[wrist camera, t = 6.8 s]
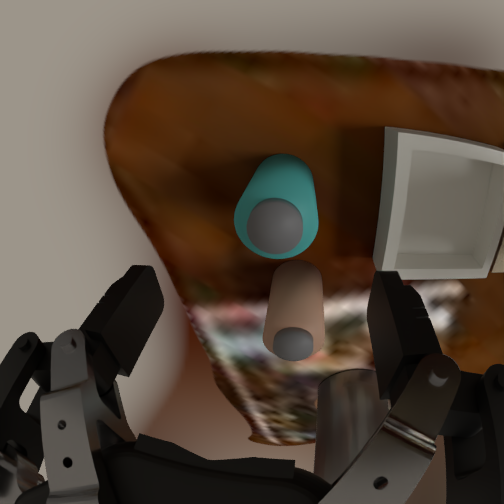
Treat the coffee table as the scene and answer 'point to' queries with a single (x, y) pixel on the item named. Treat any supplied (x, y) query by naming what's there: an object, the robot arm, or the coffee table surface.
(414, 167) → the tray
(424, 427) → the robot arm
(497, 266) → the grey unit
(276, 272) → the beige cylinder
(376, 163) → the coffee table surface
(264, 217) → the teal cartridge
